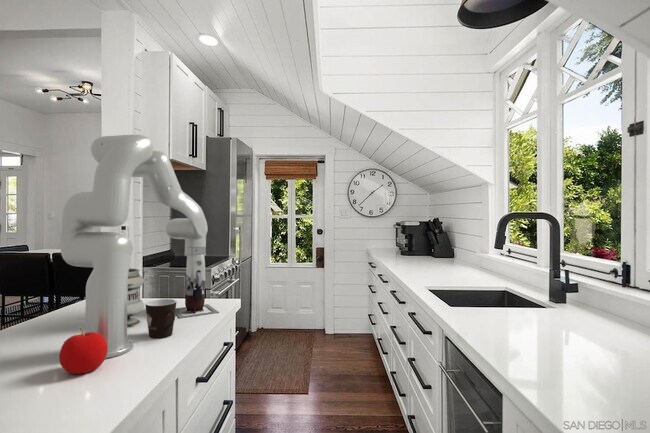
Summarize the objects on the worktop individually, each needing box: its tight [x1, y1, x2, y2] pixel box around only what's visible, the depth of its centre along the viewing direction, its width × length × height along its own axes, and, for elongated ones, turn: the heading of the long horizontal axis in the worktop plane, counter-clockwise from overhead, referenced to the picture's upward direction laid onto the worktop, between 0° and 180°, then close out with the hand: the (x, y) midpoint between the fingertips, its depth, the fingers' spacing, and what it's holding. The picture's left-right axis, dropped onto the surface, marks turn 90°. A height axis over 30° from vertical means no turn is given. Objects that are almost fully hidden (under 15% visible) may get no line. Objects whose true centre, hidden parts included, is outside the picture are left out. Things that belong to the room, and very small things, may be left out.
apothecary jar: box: [127, 267, 145, 328], centre depth 117 cm, size 12×12×18 cm
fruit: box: [58, 326, 108, 375], centre depth 82 cm, size 9×9×10 cm
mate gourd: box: [184, 273, 206, 314], centre depth 133 cm, size 8×8×15 cm
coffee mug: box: [144, 298, 178, 340], centre depth 105 cm, size 12×9×10 cm
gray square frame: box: [175, 303, 220, 319], centre depth 134 cm, size 14×14×1 cm
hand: (194, 297), depth 133 cm, fingers closed on mate gourd, 7 cm apart
